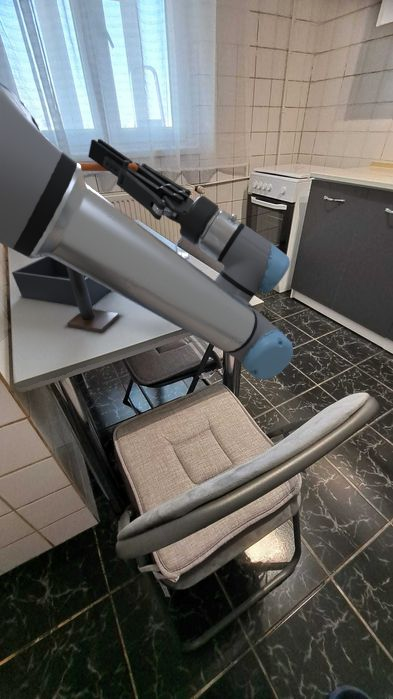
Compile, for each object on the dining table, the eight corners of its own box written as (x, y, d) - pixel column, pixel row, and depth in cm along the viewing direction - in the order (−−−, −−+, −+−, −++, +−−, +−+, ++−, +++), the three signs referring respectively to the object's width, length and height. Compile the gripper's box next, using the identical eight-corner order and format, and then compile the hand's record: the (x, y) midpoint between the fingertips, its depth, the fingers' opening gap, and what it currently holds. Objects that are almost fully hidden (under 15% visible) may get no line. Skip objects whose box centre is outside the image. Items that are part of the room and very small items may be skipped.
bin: (21, 296, 87) (11, 272, 83) (57, 276, 99) (50, 254, 94) (88, 307, 81) (81, 282, 76) (118, 284, 92) (113, 261, 88)
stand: (67, 326, 73) (22, 193, 55) (87, 311, 79) (51, 186, 61) (102, 332, 71) (65, 194, 53) (119, 316, 77) (92, 187, 59)
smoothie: (184, 280, 94) (182, 235, 85) (193, 288, 89) (192, 241, 81) (166, 284, 91) (161, 238, 83) (174, 292, 87) (170, 244, 78)
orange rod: (41, 170, 55) (39, 163, 54) (46, 169, 56) (43, 162, 55) (136, 172, 50) (135, 163, 49) (139, 171, 50) (138, 162, 50)
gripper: (229, 199, 54) (122, 123, 53) (206, 218, 44) (71, 123, 42) (210, 234, 59) (111, 165, 58) (185, 258, 49) (63, 175, 47)
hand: (94, 147), depth 50 cm, fingers closed on orange rod
